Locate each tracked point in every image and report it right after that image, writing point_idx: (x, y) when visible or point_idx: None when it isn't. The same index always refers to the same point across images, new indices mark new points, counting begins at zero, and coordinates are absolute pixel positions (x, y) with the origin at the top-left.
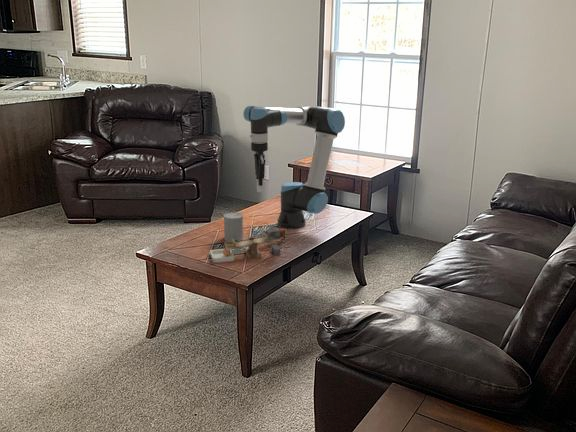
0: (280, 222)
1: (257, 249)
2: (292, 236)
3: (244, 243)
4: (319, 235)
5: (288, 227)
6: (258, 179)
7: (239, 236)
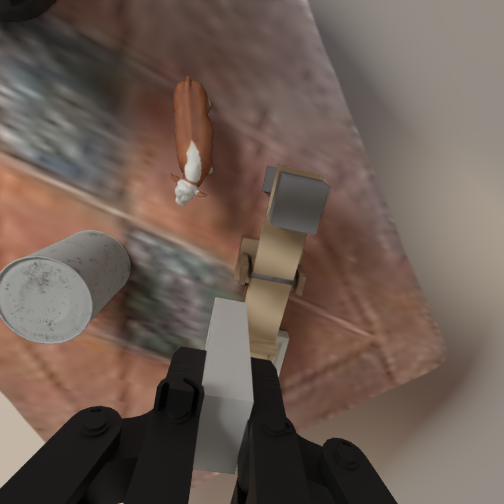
0: (5, 8)
1: (258, 244)
2: (157, 29)
3: (268, 309)
4: None
5: None
6: (237, 450)
7: (121, 260)
